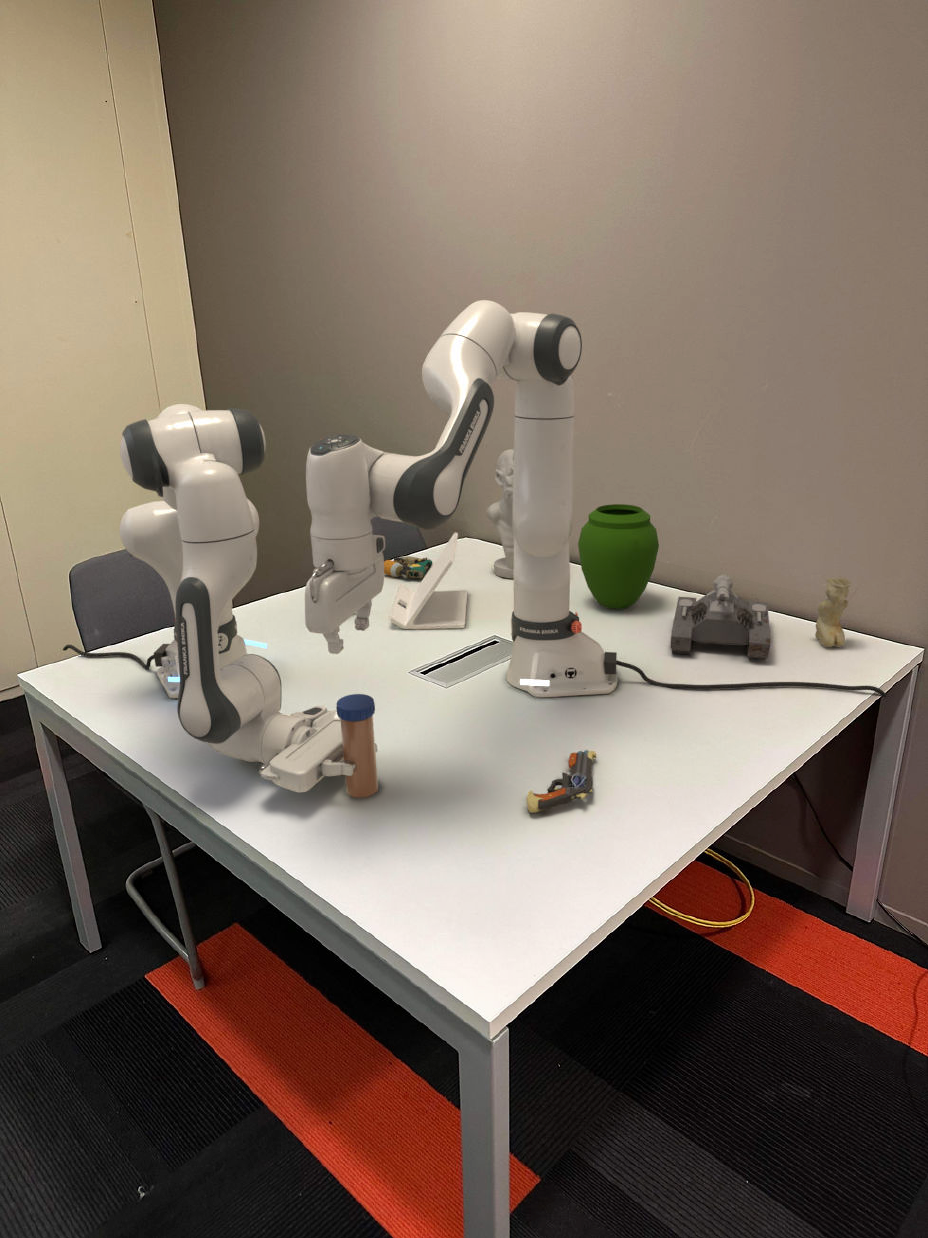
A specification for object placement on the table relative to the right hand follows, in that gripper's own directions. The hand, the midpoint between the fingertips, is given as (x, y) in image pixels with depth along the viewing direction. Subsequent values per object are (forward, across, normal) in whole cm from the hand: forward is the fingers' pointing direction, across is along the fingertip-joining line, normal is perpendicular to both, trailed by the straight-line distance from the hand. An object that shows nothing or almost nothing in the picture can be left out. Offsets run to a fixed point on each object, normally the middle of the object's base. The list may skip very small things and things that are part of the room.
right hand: (349, 640), depth 128 cm
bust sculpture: (+26, +114, 0) cm, 117 cm away
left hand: (+20, 0, -1) cm, 20 cm away
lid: (+11, 0, 0) cm, 11 cm away
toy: (+26, +78, -53) cm, 98 cm away
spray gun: (+26, +110, +33) cm, 118 cm away
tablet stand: (+26, +81, +17) cm, 87 cm away
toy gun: (+26, +9, -31) cm, 41 cm away
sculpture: (+25, +81, -76) cm, 114 cm away
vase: (+26, +96, -28) cm, 103 cm away
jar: (+26, 0, 0) cm, 26 cm away
